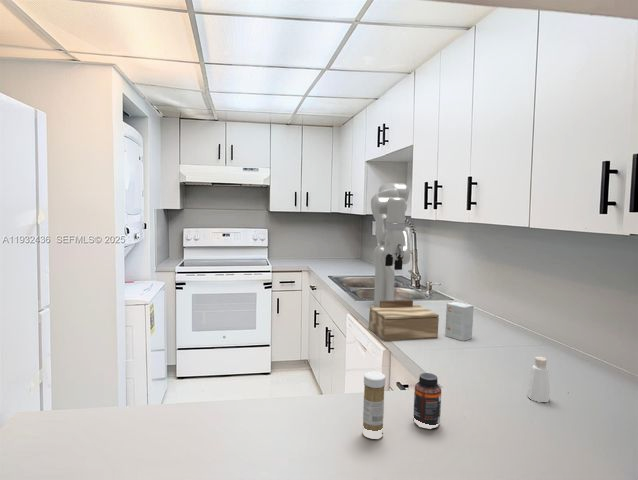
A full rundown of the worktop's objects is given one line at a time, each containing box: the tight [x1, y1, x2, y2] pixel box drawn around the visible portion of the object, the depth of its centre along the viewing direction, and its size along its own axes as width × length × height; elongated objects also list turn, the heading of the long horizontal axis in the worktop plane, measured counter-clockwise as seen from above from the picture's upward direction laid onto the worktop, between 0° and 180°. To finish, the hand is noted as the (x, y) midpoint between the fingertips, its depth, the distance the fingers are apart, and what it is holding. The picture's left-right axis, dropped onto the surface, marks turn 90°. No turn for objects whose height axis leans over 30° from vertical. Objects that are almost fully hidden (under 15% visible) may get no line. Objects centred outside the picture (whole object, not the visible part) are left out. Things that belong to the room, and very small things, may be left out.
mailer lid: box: [369, 299, 440, 319], centre depth 163 cm, size 16×22×3 cm
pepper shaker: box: [526, 356, 551, 403], centre depth 109 cm, size 5×5×11 cm
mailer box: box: [368, 308, 440, 342], centre depth 163 cm, size 16×22×8 cm
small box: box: [444, 301, 474, 342], centre depth 160 cm, size 8×6×13 cm
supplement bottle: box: [413, 372, 442, 425], centre depth 94 cm, size 6×6×11 cm
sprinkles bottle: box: [362, 371, 386, 431], centre depth 89 cm, size 5×5×13 cm
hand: (393, 267), depth 174 cm, fingers open, 9 cm apart
